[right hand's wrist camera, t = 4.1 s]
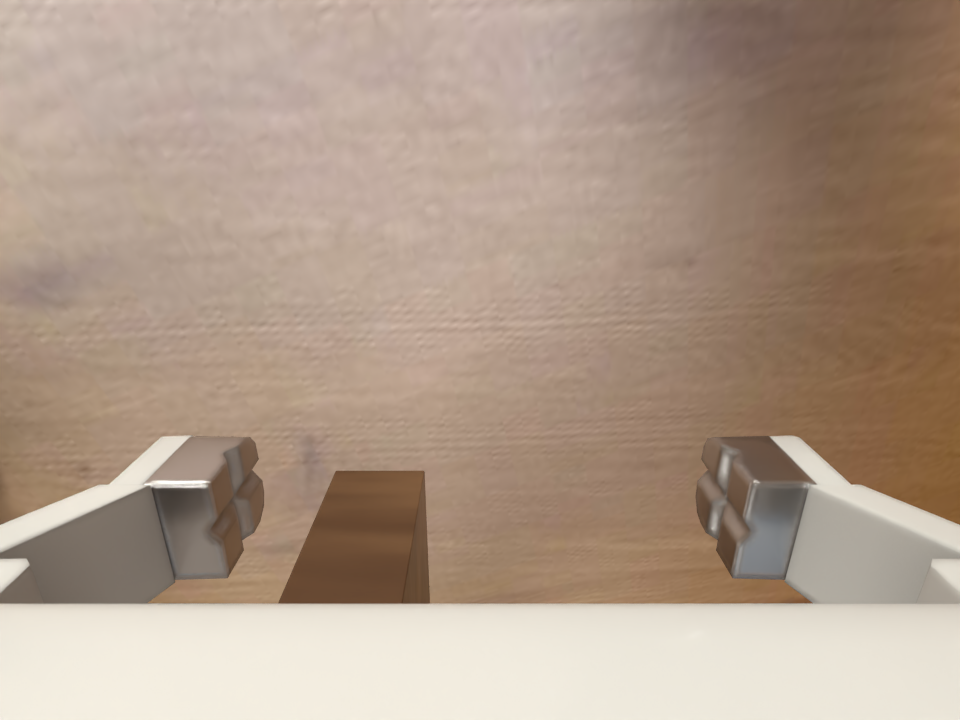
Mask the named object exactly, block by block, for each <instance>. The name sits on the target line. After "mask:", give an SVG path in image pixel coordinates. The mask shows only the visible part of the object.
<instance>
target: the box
mask: <svg viewBox="0 0 960 720" xmlns="http://www.w3.org/2000/svg"><path fill="white" fill-rule="evenodd" d="M278 604H430V593H429V569H428V545H427V521H426V496H425V472H424V471H336V472H335V474H334V477H333V479H332V481H331V483H330V486H329V488H328V490H327V493H326V495H325V497H324V499H323V502H322V504H321V506H320V509H319V511H318V513H317V516H316V518H315V520H314V522H313V525H312V527H311V529H310V532H309V534H308V536H307V538H306V541H305V543H304V545H303V548H302V550H301V552H300V555H299V557H298V559H297V561H296V564H295V566H294V568H293V571H292V573H291V575H290V577H289V580H288V582H287V584H286V587H285V589H284V591H283V593H282V596H281V598H280V600H279V603H278Z"/></svg>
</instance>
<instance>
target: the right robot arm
mask: <svg viewBox="0 0 960 720" xmlns="http://www.w3.org/2000/svg"><path fill="white" fill-rule="evenodd" d="M258 459H259V458H258V454H257V449H256V444H255V442H254V441H253V440H252V439H251V438H250V437H217V436H195V437H194V436H166V437H161V438H160V439H158V440H157V441H156V442H155V443H154V444H153V445H152V446H151V447H150V448H149V449H147V450H146V451H145V452H144V453H143V454H142V455H141V456H140V457H139V458H138V459H136V460H135V461H134V462H133V463H132V464H131V465H130V466H129V467H128V468H127V469H125V470H124V471H123V472H122V473H121V474H120V475H119V476H118V477H117V478H115V479H114V480H113V481H112V482H111V483H110V484H109V485H97V486H95V487H92V488H90V489H88V490H85V491H83V492H80V493H78V494H75V495H73V496H70V497H68V498H65V499H63V500H60V501H58V502H55V503H53V504H51V505H48V506H46V507H43V508H41V509H38V510H36V511H33V512H31V513H28V514H26V515H23V516H21V517H18V518H16V519H13V520H11V521H9V522H6V523H4V524H1V525H0V720H960V525H959V524H956V523H954V522H951V521H949V520H946V519H944V518H941V517H939V516H936V515H934V514H932V513H929V512H927V511H924V510H922V509H919V508H917V507H914V506H912V505H909V504H907V503H904V502H902V501H900V500H897V499H895V498H892V497H890V496H887V495H885V494H882V493H880V492H877V491H875V490H872V489H870V488H868V487H865V486H863V485H851V484H850V483H849V482H848V481H847V480H846V479H845V478H843V477H842V476H841V475H840V474H839V473H838V472H837V471H836V470H835V469H834V468H832V467H831V466H830V465H829V464H828V463H827V462H826V461H825V460H824V459H823V458H822V457H820V456H819V455H818V454H817V453H816V452H815V451H814V450H813V449H812V448H811V447H809V446H808V445H807V444H806V443H805V442H804V441H803V440H802V439H801V438H799V437H796V436H792V435H789V436H750V437H714V438H708V439H707V441H706V443H705V445H704V448H703V453H702V458H701V459H702V461H703V462H704V464H705V466H706V467H707V469H708V470H707V471H706V473H705V474H704V475H703V476H702V477H701V478H700V479H699V480H698V482H697V490H696V506H697V513H698V516H699V520H700V523H701V525H702V526H703V528H704V530H705V532H706V533H707V534H709V535H711V536H712V537H714V538H715V539H717V540H718V543H717V548H716V551H717V552H718V554H719V556H720V558H721V559H722V561H723V563H724V564H725V566H726V568H727V569H728V571H729V573H730V574H731V576H732V578H743V579H780V580H785V582H786V583H787V584H788V585H790V586H791V587H792V588H794V589H795V590H796V591H798V592H799V593H800V594H802V595H803V596H804V597H806V598H807V599H808V600H810V601H811V602H812V603H814V604H147V603H148V602H149V601H151V600H152V599H153V598H155V597H156V596H157V595H159V594H160V593H161V592H163V591H164V590H165V589H167V588H168V587H169V586H171V585H172V584H173V583H175V580H180V579H216V578H228V576H229V575H230V573H231V571H232V569H233V568H234V566H235V564H236V563H237V561H238V559H239V558H240V556H241V554H242V552H243V551H244V548H243V543H242V540H243V539H245V538H246V537H248V536H249V535H251V534H253V533H254V532H255V530H256V528H257V526H258V524H259V523H260V520H261V516H262V512H263V508H264V489H263V482H262V480H261V479H260V478H259V477H258V476H257V475H256V474H255V473H254V471H253V470H252V469H253V467H254V466H255V464H256V462H257V461H258Z"/></svg>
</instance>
